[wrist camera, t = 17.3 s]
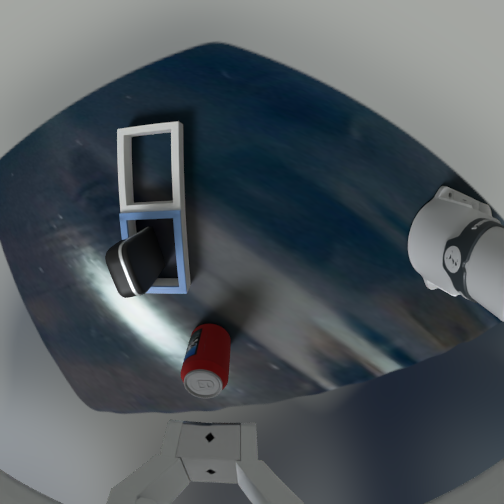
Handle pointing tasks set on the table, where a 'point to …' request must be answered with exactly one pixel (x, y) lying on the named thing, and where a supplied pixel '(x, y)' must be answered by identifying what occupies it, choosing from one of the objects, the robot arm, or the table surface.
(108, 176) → the table surface
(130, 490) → the robot arm
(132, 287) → the battery charger
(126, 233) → the tray
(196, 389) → the beverage can
